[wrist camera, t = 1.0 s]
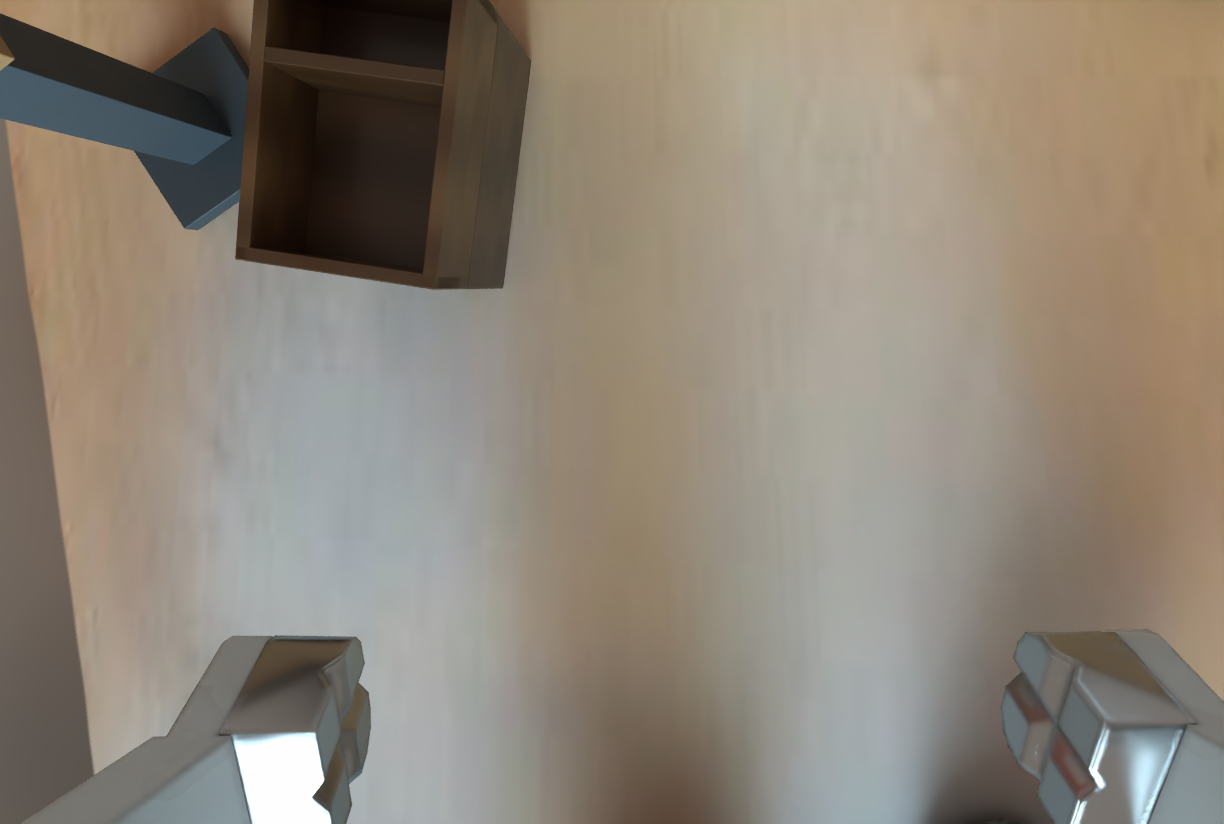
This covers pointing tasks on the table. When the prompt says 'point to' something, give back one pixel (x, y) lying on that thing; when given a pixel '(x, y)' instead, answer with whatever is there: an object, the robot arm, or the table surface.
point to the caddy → (382, 140)
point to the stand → (138, 110)
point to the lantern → (1000, 821)
